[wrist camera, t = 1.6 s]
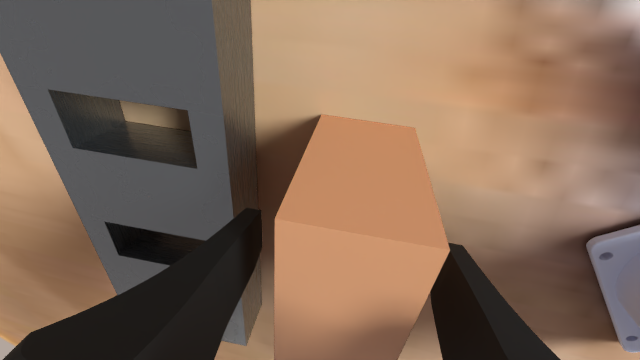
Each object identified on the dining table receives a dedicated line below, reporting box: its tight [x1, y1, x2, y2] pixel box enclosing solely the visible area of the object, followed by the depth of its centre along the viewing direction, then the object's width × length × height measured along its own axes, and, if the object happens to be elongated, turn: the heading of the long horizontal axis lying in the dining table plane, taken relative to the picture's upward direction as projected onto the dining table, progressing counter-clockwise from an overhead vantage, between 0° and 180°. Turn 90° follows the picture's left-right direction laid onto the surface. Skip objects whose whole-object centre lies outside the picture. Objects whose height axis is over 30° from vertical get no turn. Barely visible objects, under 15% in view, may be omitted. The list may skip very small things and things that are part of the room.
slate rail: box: [0, 0, 262, 346], centre depth 14 cm, size 22×8×3 cm, turn 175°
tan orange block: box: [274, 115, 450, 360], centre depth 12 cm, size 8×4×7 cm, turn 175°
